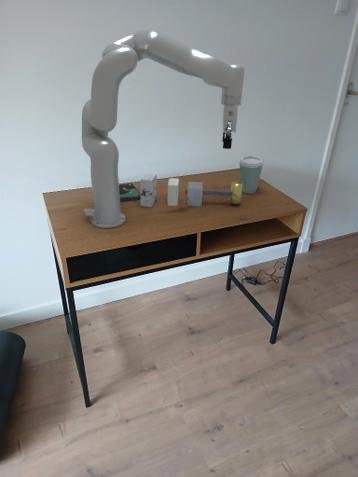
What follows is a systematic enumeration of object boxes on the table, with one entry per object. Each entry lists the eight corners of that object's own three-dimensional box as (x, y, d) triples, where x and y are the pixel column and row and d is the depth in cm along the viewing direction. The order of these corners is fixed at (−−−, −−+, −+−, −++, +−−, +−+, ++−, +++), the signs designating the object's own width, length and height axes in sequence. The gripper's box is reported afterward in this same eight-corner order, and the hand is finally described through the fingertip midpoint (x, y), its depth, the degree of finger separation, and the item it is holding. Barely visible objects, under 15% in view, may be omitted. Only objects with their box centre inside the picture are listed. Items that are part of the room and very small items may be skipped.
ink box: (146, 198, 157) (145, 172, 151) (157, 199, 156) (157, 173, 150) (140, 206, 149) (139, 179, 144) (152, 207, 149) (151, 180, 143)
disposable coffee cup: (262, 195, 162) (266, 162, 154) (237, 195, 162) (241, 162, 154) (257, 186, 171) (261, 155, 164) (234, 186, 171) (237, 155, 164)
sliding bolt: (184, 201, 151) (185, 183, 147) (185, 197, 155) (185, 179, 151) (241, 203, 150) (243, 185, 146) (240, 199, 154) (242, 181, 150)
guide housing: (187, 206, 151) (187, 187, 147) (187, 199, 157) (188, 181, 153) (201, 206, 150) (202, 188, 146) (201, 199, 156) (202, 182, 152)
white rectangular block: (167, 205, 151) (167, 185, 146) (169, 198, 157) (169, 178, 153) (177, 206, 150) (177, 185, 146) (178, 198, 157) (178, 178, 153)
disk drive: (110, 191, 164) (118, 203, 152) (109, 185, 163) (118, 197, 151) (132, 188, 168) (142, 200, 156) (131, 182, 167) (141, 194, 155)
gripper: (242, 104, 130) (237, 151, 138) (239, 97, 145) (234, 140, 153) (221, 103, 130) (217, 150, 139) (220, 96, 146) (217, 139, 154)
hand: (226, 145), depth 146 cm, fingers open, 9 cm apart
